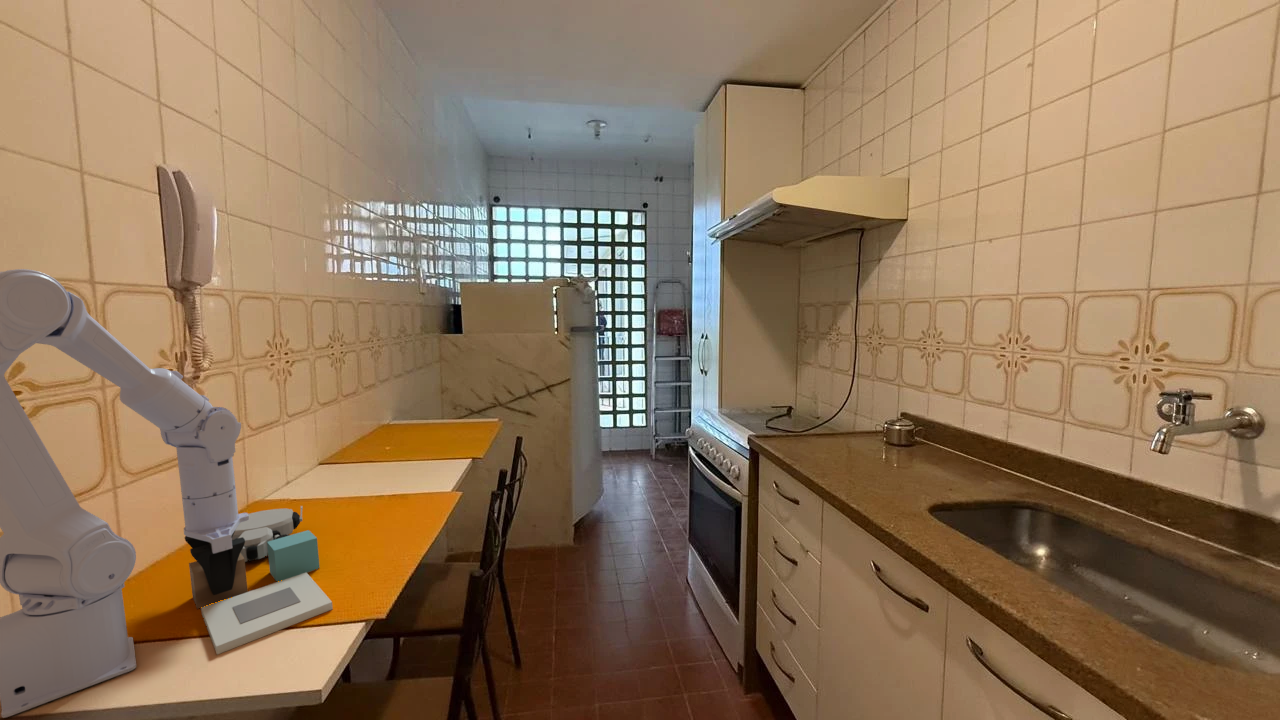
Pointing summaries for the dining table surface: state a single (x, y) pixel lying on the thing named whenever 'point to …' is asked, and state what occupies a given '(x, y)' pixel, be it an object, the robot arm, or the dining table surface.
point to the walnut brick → (202, 589)
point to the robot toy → (265, 530)
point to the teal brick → (293, 555)
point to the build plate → (263, 611)
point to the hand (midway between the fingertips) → (219, 585)
